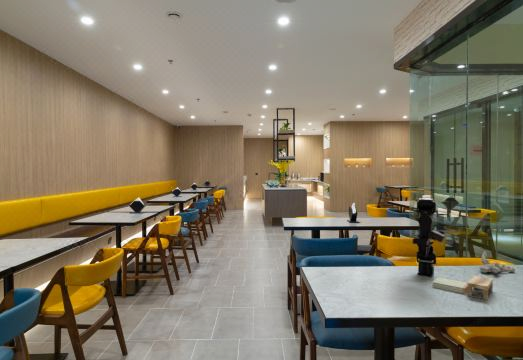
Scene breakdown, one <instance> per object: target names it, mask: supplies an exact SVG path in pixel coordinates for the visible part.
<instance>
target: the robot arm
mask: <svg viewBox="0 0 523 360" xmlns="http://www.w3.org/2000/svg"><path fill="white" fill-rule="evenodd" d="M436 212H437V203H436V201H435V199H433V195H429V194H423V195H421V197H420V198H418V200H416V213H417V214H419V215H418V219H417V222H418V226H417V229H418V234H417V236H416V237H414V238H412V244H413V245H414V244H415V245H416V246H417V249H418V250H416V263H418V264H417V265H418V266H417V273H416V274H417V275H418V276H419V275H420V276H424V277H430V278H432V277H433V276H434V275H435V266H434V265H437V254H436V253H435V252H434V247H433V244H435V242H437V241H438V242H439V243H443V242H444V241H445V239H446V237H447V235H446V233H445V230H439V231H436V230H435V228H434V226H433V217H434V216H435V213H436Z"/></svg>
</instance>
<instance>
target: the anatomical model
mask: <svg viewBox="0 0 523 360" xmlns="http://www.w3.org/2000/svg"><path fill="white" fill-rule="evenodd" d="M487 253H488V252H486V251H483V252H482V254H481V259H480V261H481V263H482V264H480V266H479V269H480V270H479V271H480V272H482V273H485V274H487V273H493V274H499V272H500V271H501V272H503V271H504V272H510V273H515V272H516V269H515V268H514V267H512V268H511V266H506V265H505V264H499V262H496V261H495V262H492V263H489V262H491V260H490V259H489V258H490V256H488V254H487ZM487 258H488V259H487Z"/></svg>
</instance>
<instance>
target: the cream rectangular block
mask: <svg viewBox="0 0 523 360" xmlns="http://www.w3.org/2000/svg"><path fill="white" fill-rule="evenodd" d="M432 287H433V288H437V289H442V290H447V291H451V292H456V293H460V294H464V295H465V294H467V290H468V282H465V281H459V280H455V279H449V278H444V277H437V278H436V279H434V280H433V281H432Z"/></svg>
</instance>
